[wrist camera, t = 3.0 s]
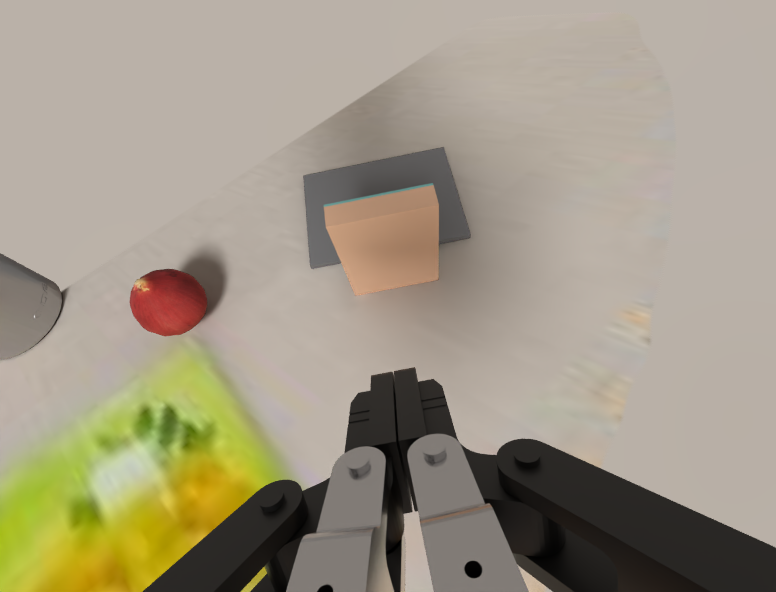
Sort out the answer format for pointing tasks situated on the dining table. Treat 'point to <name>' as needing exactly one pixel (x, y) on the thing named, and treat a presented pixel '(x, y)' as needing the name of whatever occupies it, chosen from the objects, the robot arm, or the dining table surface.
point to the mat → (376, 181)
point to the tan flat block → (387, 238)
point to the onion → (168, 302)
